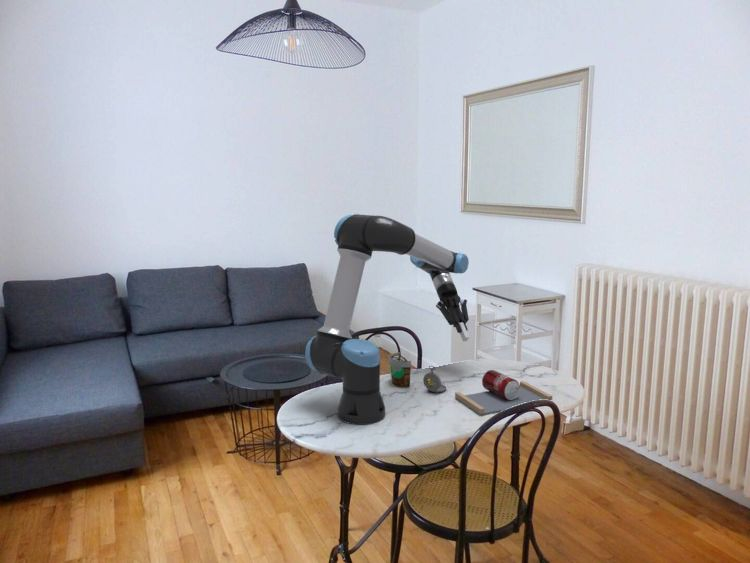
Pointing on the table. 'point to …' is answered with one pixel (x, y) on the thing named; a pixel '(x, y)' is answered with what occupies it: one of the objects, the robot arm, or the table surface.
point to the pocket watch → (433, 382)
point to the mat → (500, 399)
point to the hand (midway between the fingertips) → (466, 339)
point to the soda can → (501, 385)
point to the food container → (400, 370)
